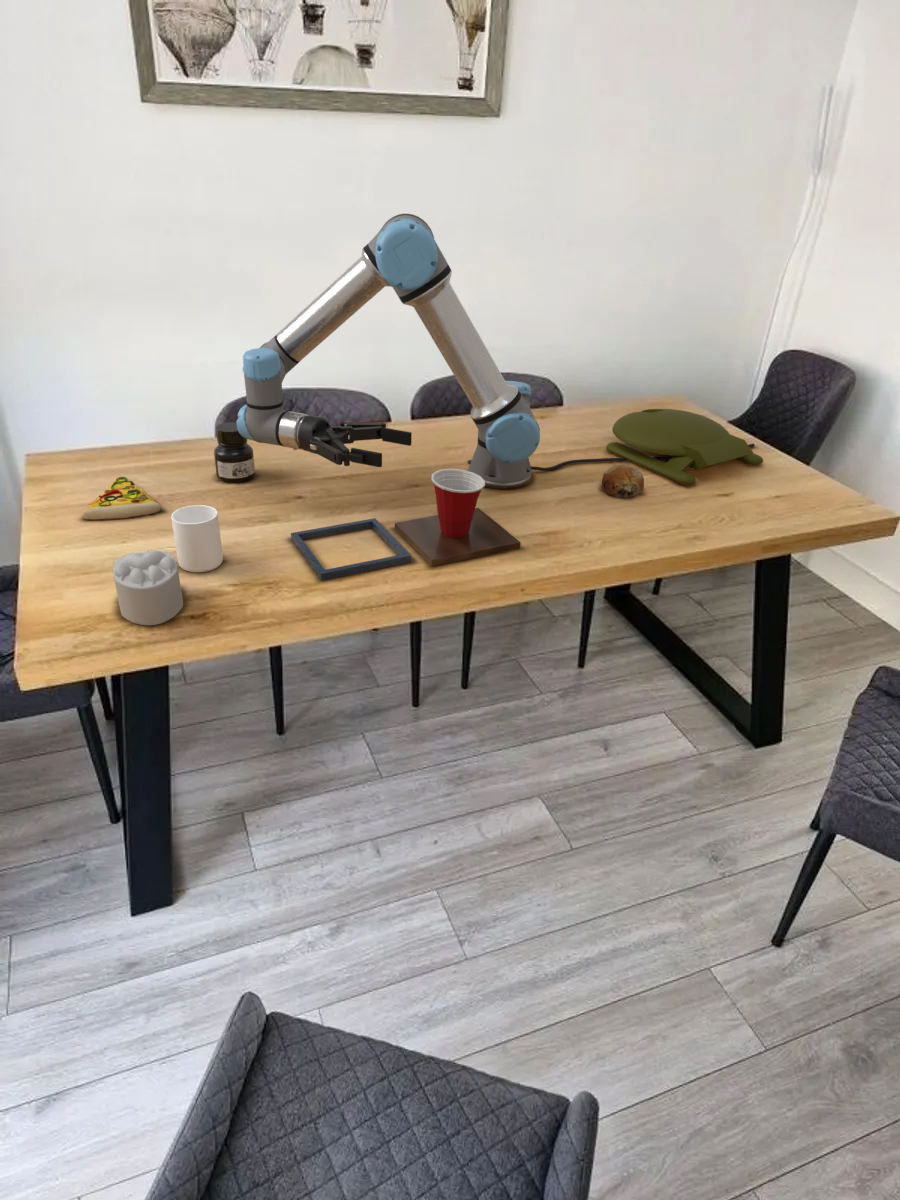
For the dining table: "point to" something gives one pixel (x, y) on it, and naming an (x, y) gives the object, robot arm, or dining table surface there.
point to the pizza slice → (121, 502)
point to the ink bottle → (233, 454)
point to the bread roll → (622, 481)
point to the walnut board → (456, 539)
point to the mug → (197, 538)
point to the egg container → (148, 587)
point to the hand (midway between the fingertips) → (396, 449)
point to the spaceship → (677, 442)
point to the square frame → (353, 568)
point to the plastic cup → (456, 500)
